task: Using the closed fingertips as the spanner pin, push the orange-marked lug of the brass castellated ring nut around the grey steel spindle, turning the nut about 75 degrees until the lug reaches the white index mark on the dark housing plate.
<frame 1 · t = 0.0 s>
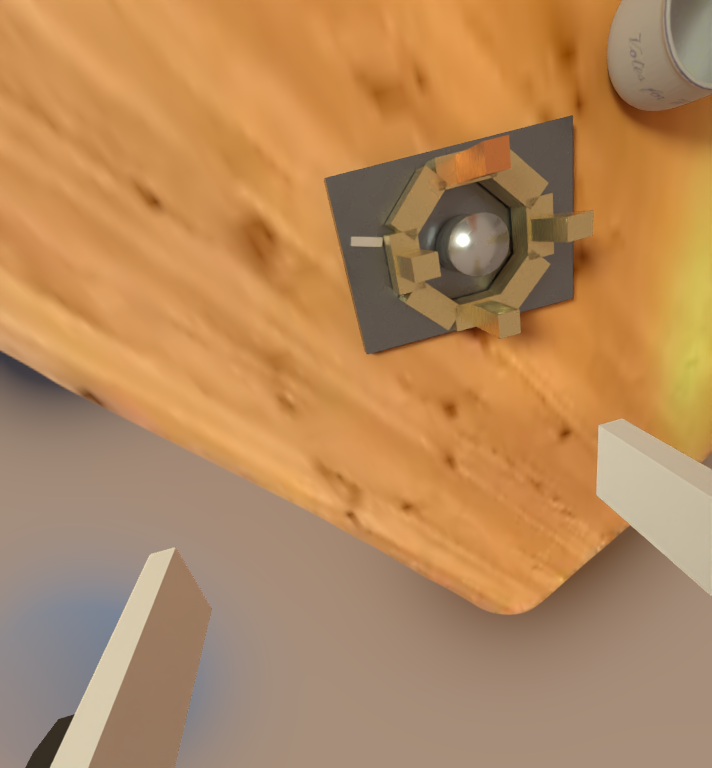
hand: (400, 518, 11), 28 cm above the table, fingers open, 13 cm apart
teacup: (655, 56, 33), on the table
housing: (455, 243, 36), on the table
ring nut: (481, 245, 31), point 6 cm above the table, hinge at 0.0°
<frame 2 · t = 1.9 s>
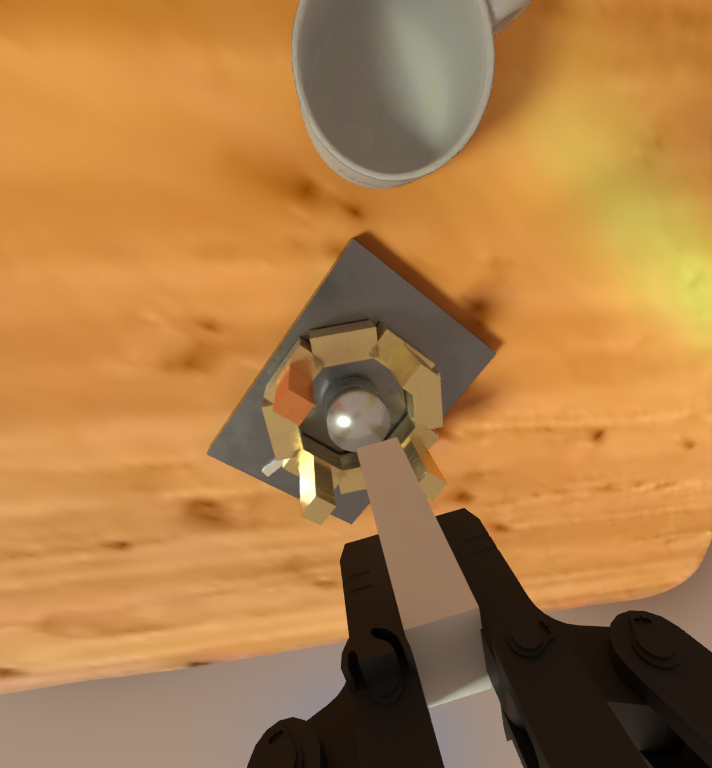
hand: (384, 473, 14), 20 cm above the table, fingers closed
teacup: (390, 102, 27), on the table
housing: (350, 396, 34), on the table
ring nut: (359, 424, 29), point 6 cm above the table, hinge at 0.0°
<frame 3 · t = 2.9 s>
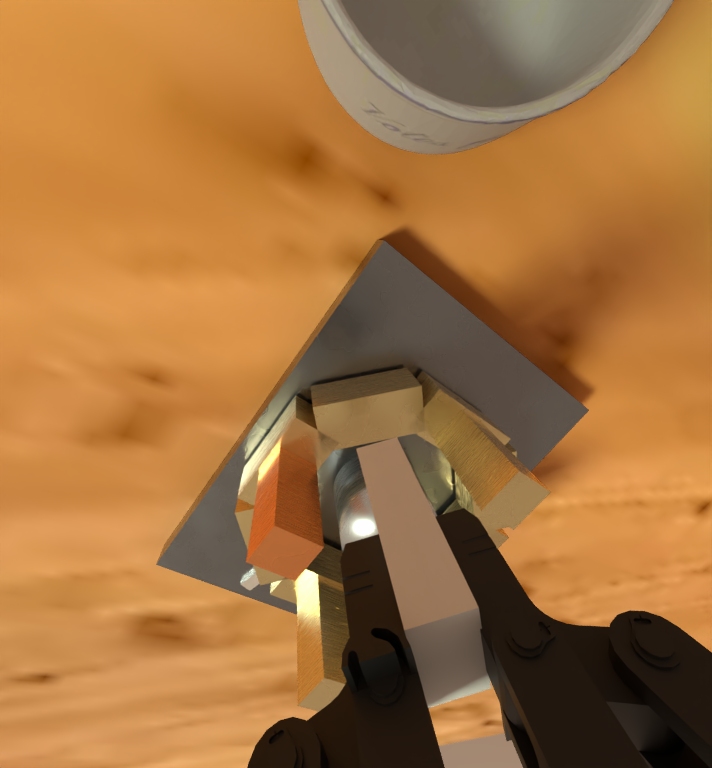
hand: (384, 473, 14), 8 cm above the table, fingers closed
teacup: (450, 9, 16), on the table
housing: (370, 471, 23), on the table
ring nut: (391, 537, 18), point 6 cm above the table, hinge at 0.0°
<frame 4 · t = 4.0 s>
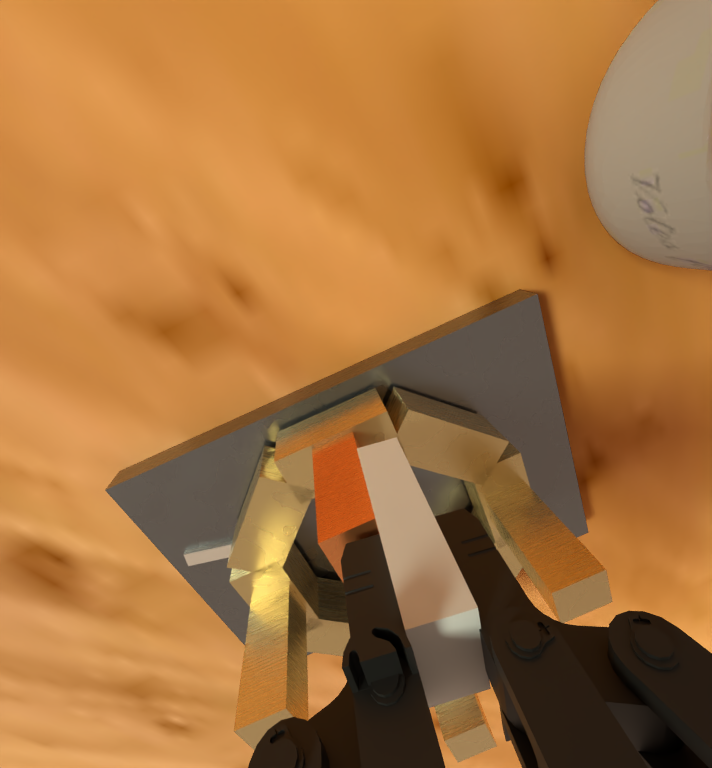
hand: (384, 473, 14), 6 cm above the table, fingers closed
teacup: (681, 146, 17), on the table
housing: (375, 496, 22), on the table
ring nut: (399, 576, 17), point 6 cm above the table, hinge at 0.0°, touching gripper
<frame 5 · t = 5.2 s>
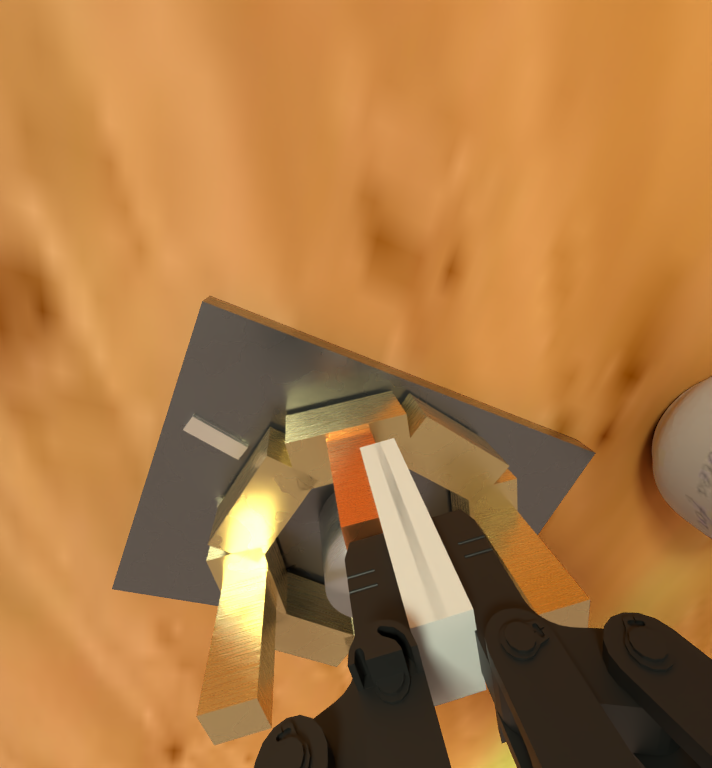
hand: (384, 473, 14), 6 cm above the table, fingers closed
teacup: (699, 439, 25), on the table
housing: (360, 500, 22), on the table
ring nut: (381, 580, 17), point 6 cm above the table, hinge at 35.0°, touching gripper
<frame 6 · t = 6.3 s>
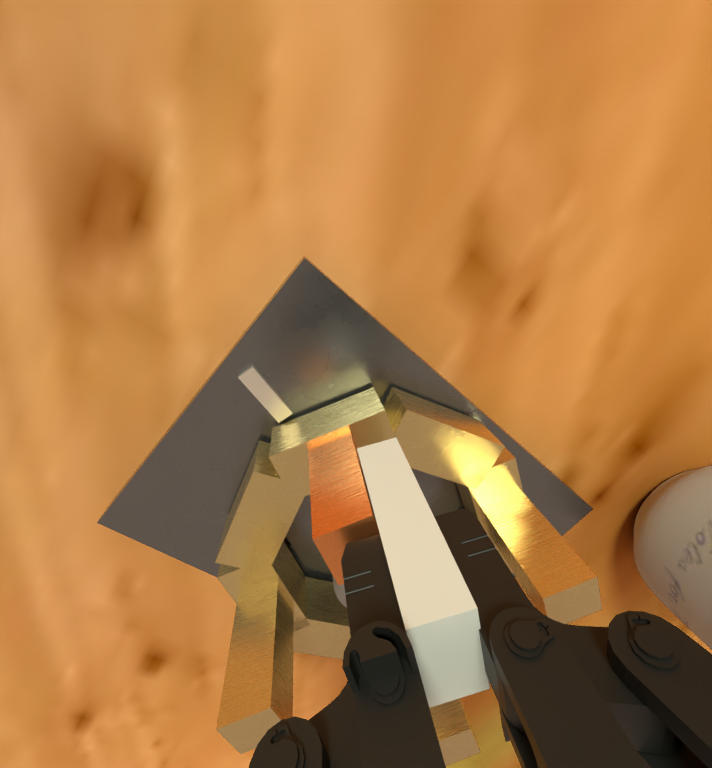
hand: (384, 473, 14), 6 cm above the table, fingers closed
teacup: (673, 521, 27), on the table
housing: (368, 497, 22), on the table
ring nut: (389, 577, 16), point 6 cm above the table, hinge at 61.5°, touching gripper
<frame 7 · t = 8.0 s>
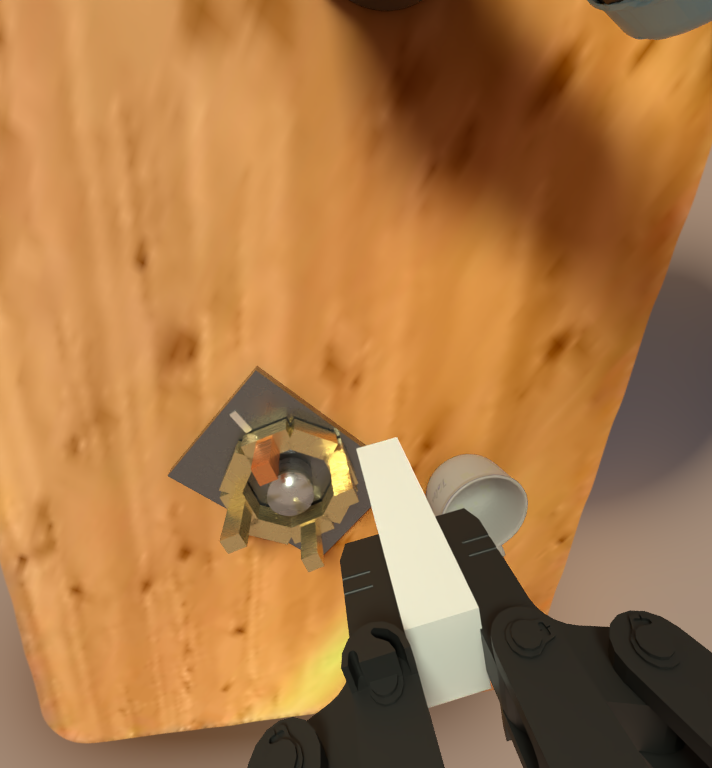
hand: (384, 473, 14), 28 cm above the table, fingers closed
teacup: (458, 486, 51), on the table
housing: (291, 468, 45), on the table
ring nut: (290, 497, 40), point 6 cm above the table, hinge at 61.5°
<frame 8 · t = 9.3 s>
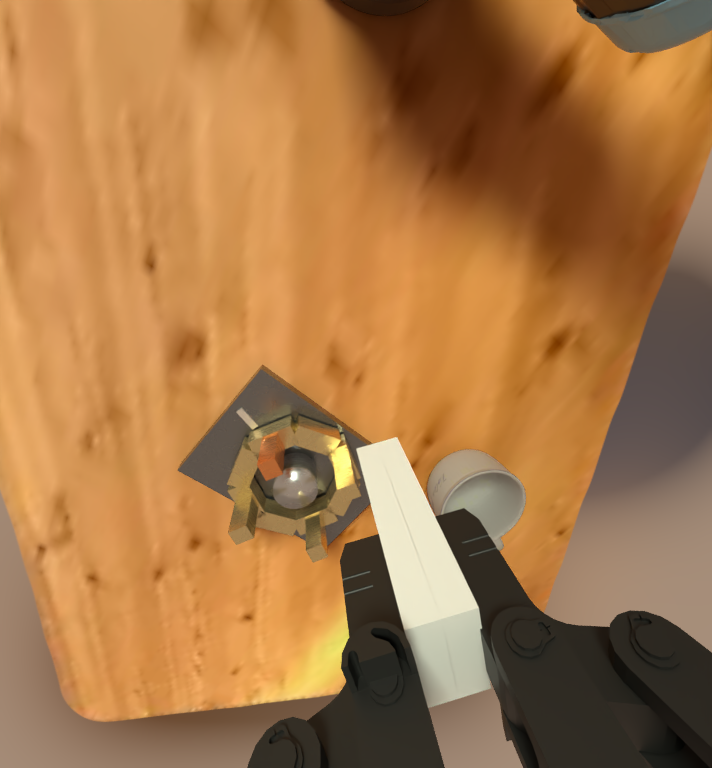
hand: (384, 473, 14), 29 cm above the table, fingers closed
teacup: (459, 480, 52), on the table
housing: (295, 463, 47), on the table
ring nut: (295, 491, 42), point 6 cm above the table, hinge at 61.5°
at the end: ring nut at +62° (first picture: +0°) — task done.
